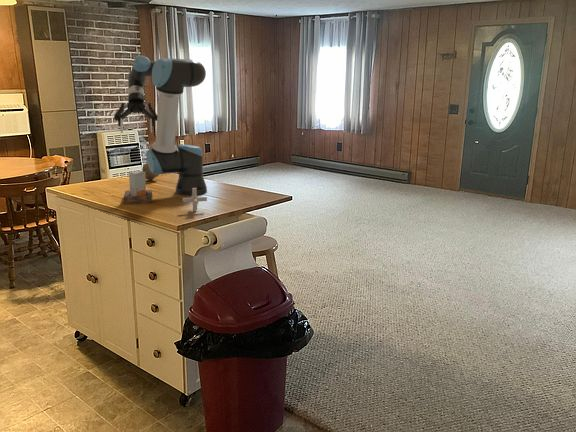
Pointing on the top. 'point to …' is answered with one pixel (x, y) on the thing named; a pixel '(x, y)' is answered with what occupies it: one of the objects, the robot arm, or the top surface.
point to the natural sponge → (148, 173)
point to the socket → (137, 198)
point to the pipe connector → (194, 199)
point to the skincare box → (137, 183)
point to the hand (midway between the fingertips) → (136, 131)
